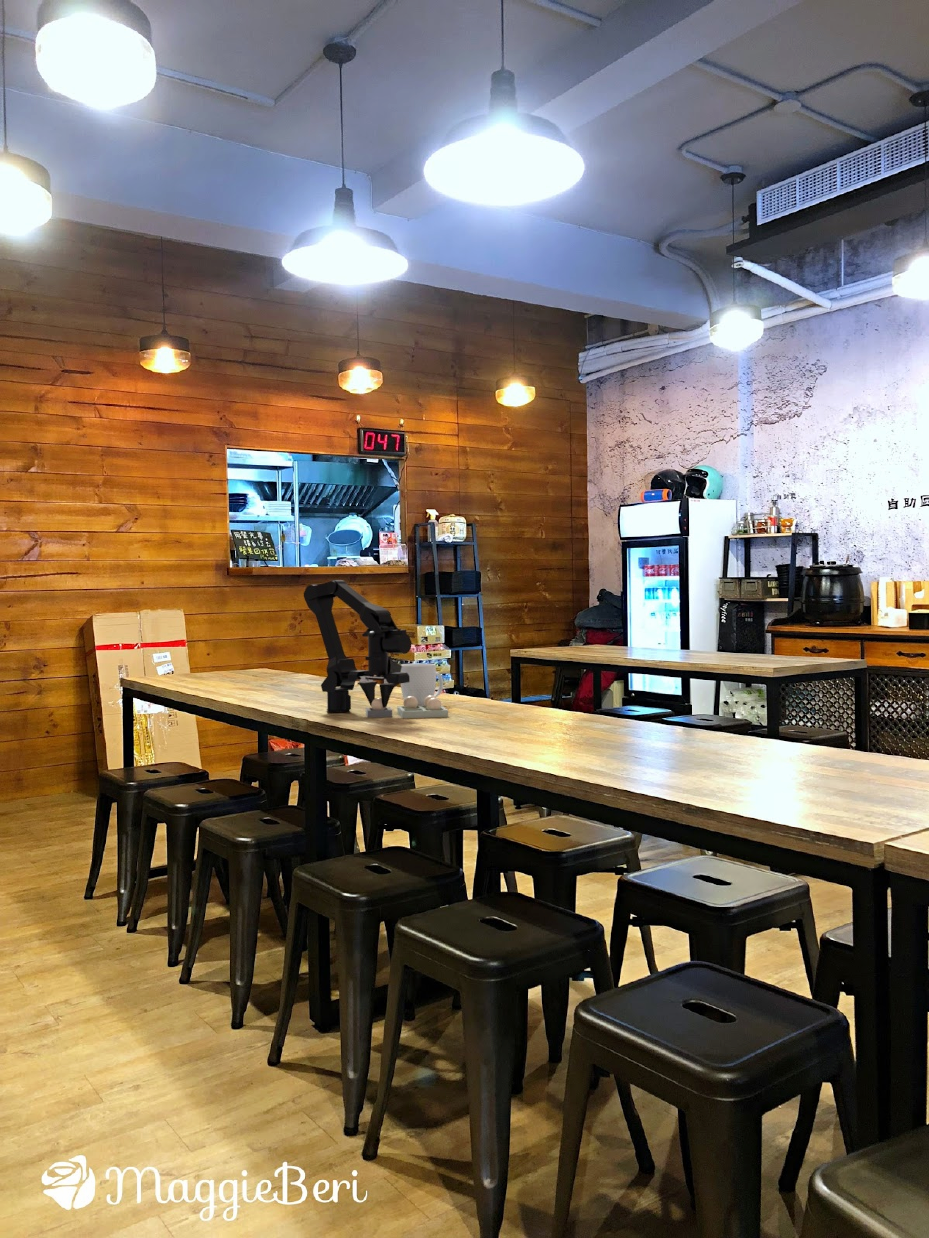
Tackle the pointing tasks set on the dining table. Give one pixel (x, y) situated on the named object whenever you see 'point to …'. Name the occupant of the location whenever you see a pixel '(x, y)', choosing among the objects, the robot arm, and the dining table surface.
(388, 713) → the dish
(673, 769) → the dining table surface
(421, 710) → the carton
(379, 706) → the egg
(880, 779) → the dining table surface
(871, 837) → the dining table surface
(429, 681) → the mug
